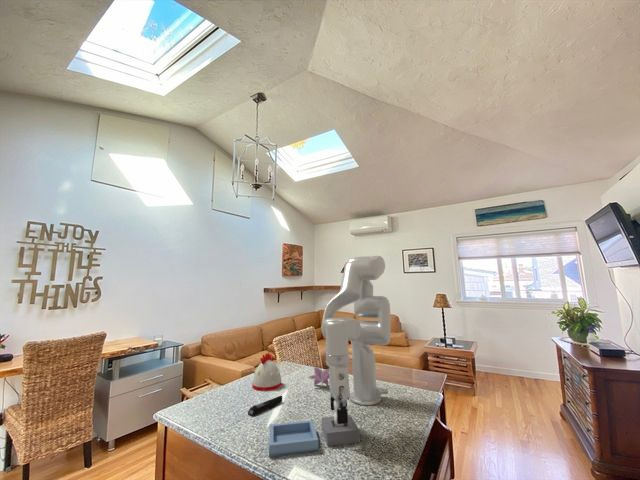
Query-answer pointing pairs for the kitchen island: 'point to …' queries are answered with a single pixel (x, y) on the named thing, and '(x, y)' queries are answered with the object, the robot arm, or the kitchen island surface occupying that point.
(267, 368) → the knit hat
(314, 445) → the parts tray
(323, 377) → the lily
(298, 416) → the kitchen island surface
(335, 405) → the white rounded cylinder piece
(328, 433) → the gray square hole block
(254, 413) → the electric trimmer
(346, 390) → the robot arm
